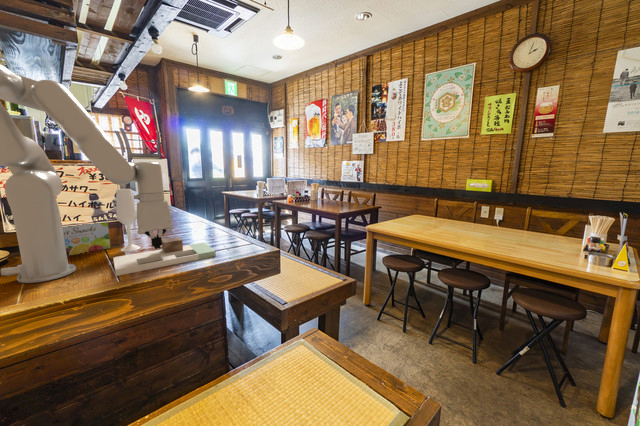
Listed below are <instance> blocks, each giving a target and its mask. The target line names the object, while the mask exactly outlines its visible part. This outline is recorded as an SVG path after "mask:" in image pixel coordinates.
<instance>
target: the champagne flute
mask: <svg viewBox="0 0 640 426" xmlns="http://www.w3.org/2000/svg"><path fill="white" fill-rule="evenodd" d="M115 193H116V194H115V195H116V197H115V199H116V202H115V203H116V204H115V205H116V206H115V207H116V209H115V210H116V212H115V213H116V221H118V222H119V223H121V224H122V225H124V226H126V234H127V243H128V244H127V245H126V246H124V247H123V248H121V249H120V251H121V252H131V251H137V250H139V249H141V248H142V247H141V246H139V245H137V244H134V243H133V241H132V240H133V239H132V230H131V225H132V224H133V223H134V222H136V221H137V207H136V204H135V199H134V195H133V191H132V188H117V189H116V190H115Z"/></svg>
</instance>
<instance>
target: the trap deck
mask: <svg viewBox="0 0 640 426" xmlns="http://www.w3.org/2000/svg"><path fill="white" fill-rule="evenodd" d="M216 256H217V254H216V250H215V249H213V247H211V246H210V245H208V244H207V243H205V242H198V243H192V244H187V245H183V250H182V251H176V252H170V253H164V251H163V250H162V248H160V249H154V250H149V251H143V252H138V253H132V254H126V255H119V256H115V257H114V256H113V257H112V258H113V265H114V272H115V276H116V277H117V276H123V275H128V274H132V273H138V272H142V271H143V272H144V271H148V270H152V269H153V270H154V269H157V268H162V267H163V268H164V267H167V266H173V265H178V264H182V263H187V262H193V261H196V260H197V261H198V260H202V259H207V258H212V257H216Z"/></svg>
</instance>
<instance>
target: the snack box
mask: <svg viewBox="0 0 640 426" xmlns="http://www.w3.org/2000/svg"><path fill="white" fill-rule="evenodd" d="M108 224H109V223H94V224H82V225H77V226H68V227H62V228H63V234H64V241H65V247H66V253H67V257H70V255H71V256H76V255H79V254H80V253H82V254H86V253H85V252H87V253H90V251H92V252H97V250H98V251H102V250H107V249H111V239H110V232H109V231H110V229H109V225H108ZM75 254H76V255H75ZM80 255H81V254H80Z"/></svg>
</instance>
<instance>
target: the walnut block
mask: <svg viewBox="0 0 640 426" xmlns="http://www.w3.org/2000/svg"><path fill="white" fill-rule="evenodd" d="M183 246H184V243H183V239H182V238H181V237H179V236H177V237H171V238H164V239H162V245H161V249H162V250H163V251H164V253H170V252H176V251H182V250H183Z"/></svg>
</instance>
